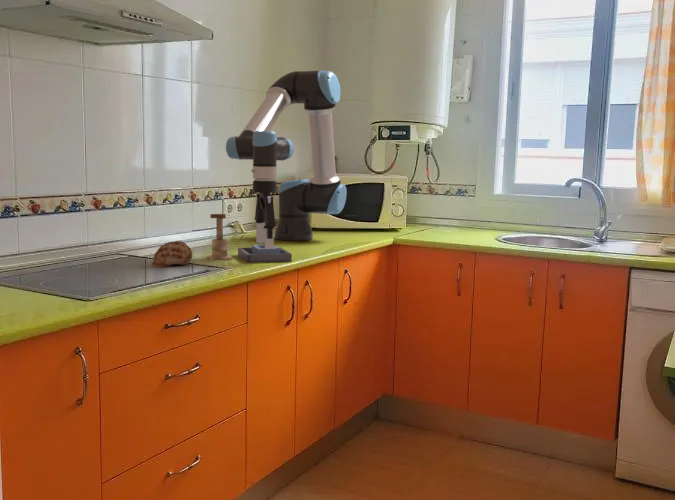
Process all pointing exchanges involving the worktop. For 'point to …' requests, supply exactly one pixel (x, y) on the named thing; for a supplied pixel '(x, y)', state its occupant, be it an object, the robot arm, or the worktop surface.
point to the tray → (264, 256)
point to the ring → (264, 250)
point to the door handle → (219, 240)
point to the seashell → (172, 254)
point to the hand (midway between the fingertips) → (264, 245)
